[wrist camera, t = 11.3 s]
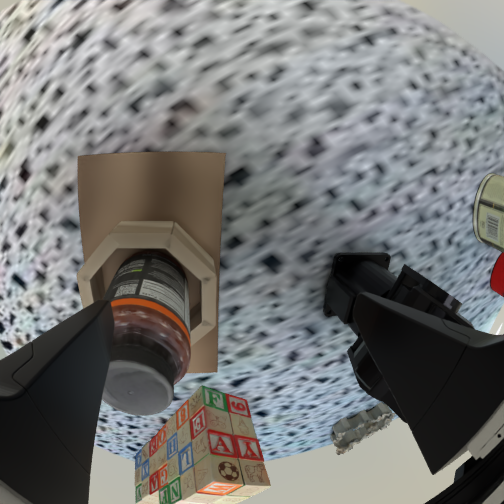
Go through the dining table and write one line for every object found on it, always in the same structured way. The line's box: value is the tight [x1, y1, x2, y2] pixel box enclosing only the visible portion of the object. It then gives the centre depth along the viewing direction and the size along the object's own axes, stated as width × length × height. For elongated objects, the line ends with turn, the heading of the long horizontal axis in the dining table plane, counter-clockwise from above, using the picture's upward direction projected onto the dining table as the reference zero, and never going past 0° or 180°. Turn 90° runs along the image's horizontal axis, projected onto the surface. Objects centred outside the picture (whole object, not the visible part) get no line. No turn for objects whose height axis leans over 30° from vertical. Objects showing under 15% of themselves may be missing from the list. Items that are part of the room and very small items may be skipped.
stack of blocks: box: [135, 386, 271, 504], centre depth 25 cm, size 21×6×12 cm, turn 143°
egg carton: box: [331, 402, 396, 455], centre depth 36 cm, size 11×8×4 cm
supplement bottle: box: [102, 251, 191, 415], centre depth 16 cm, size 6×6×11 cm
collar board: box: [77, 152, 226, 373], centre depth 20 cm, size 11×20×4 cm, turn 176°
